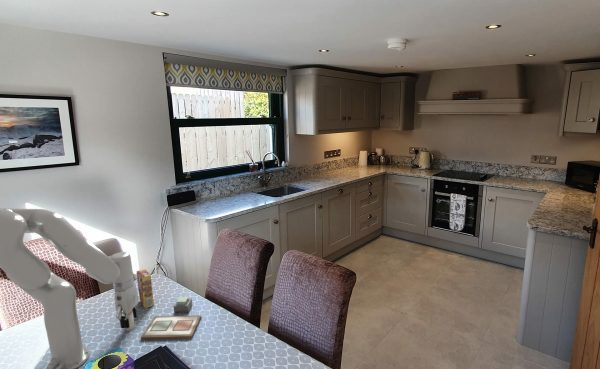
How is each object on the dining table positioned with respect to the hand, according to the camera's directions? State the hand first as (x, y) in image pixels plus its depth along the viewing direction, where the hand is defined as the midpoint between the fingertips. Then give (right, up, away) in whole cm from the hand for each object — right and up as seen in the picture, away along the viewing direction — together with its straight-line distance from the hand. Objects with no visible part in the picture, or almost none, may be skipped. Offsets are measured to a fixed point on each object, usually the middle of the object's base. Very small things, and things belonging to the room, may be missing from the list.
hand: (129, 322), depth 144 cm
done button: (+18, +3, +13) cm, 22 cm away
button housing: (+18, +1, +13) cm, 22 cm away
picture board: (+18, -2, 0) cm, 18 cm away
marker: (0, -3, +1) cm, 3 cm away
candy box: (-1, +1, +19) cm, 19 cm away
